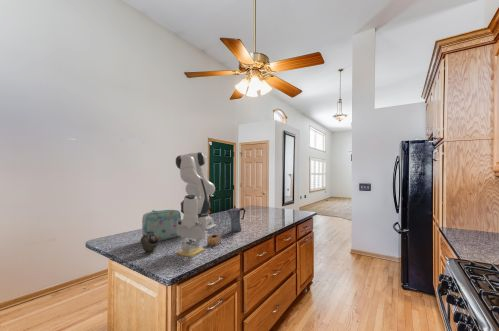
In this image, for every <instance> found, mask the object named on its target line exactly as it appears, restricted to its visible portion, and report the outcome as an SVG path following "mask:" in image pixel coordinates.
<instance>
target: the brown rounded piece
mask: <svg viewBox="0 0 499 331" xmlns="http://www.w3.org/2000/svg"><path fill="white" fill-rule="evenodd" d="M206 240H207V244H206V245H207V246H211V247H217V246H218V245H219V244H221V243H222V234H215V233H213V234H212V235H210V236H208V237H207V238H206Z"/></svg>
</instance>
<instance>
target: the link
mask: <svg viewBox="0 0 499 331" xmlns="http://www.w3.org/2000/svg"><path fill="white" fill-rule="evenodd" d="M186 241H187V242H184V243H183V242H182V243H181V250H182V252H184V253H189V254H190V253H192V252H194V251H196V250H198V249H199V248H200V245H199V246H198V247H196V246H195V243H196V242H197V241H196V239H193V243H191V244H189V240H186Z"/></svg>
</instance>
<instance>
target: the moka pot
mask: <svg viewBox="0 0 499 331" xmlns="http://www.w3.org/2000/svg"><path fill="white" fill-rule="evenodd" d="M241 211H243V215H242V217H241ZM227 213H228V215H229V216H230V221H231V222H230V231H231V232H233V233H237V232H241V231H242V225H241V220H244V218H245V213H246V209H245V208H244V207H239V208H237V207H236V205H234V206H233V208H231V209H228V210H227Z"/></svg>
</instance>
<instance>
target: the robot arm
mask: <svg viewBox="0 0 499 331" xmlns="http://www.w3.org/2000/svg"><path fill="white" fill-rule="evenodd" d="M205 164H206V156H205V154H204V153H203V152H190V153H186V154H182V155H181V154H180V155H177V156H176V157H175V166H176V167H177V168H178V169H179V174H180V178H181V180H182V181H183V182H185V183H186V186H185V192H186V194H187V195H185V196H183V200H182V201H181V202H180V213H182V214H183V216H182V218H183V219H182V218H181V220H180V221H177V235H178V236H177V237H181V239H182V240H181V241H182V243H184V242H187V241H188V240H187V239H186V238H188V239H193V240H195V241H197V242H196V243H195V246H196V247H198V246H199V247H200V243H201V241H203V240H205V238H206V231H207V230H212V229H213V228H215V227H216V226H217V224H216V223H214V222H215V221H214V219H213V217H212V216H210V215H209V214H211V211H210V210H211V202H210V200H209V198H208V197H209V196H212V195H214V194H215V192H216V187H215V184H214V183H213V182H211V181H210V180H208V179H207V177H205V173H204V171H203V166H204V165H205Z"/></svg>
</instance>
